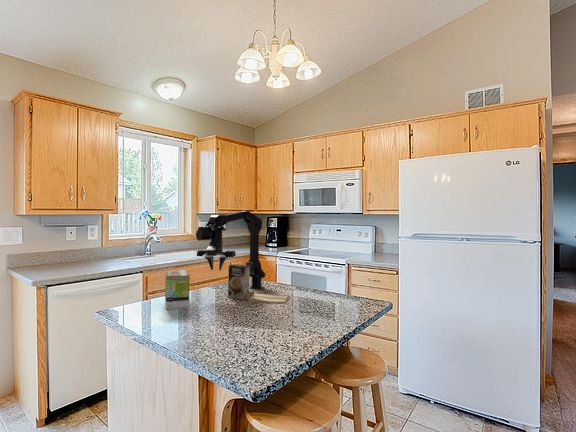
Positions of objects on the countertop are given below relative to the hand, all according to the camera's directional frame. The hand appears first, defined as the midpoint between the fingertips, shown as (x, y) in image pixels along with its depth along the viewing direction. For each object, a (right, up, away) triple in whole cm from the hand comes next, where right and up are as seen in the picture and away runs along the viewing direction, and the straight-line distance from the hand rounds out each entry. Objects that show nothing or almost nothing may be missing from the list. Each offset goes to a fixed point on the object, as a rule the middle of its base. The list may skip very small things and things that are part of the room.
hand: (216, 270), depth 167 cm
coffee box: (+12, -13, -2) cm, 18 cm away
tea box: (-14, -13, -16) cm, 25 cm away
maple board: (+27, -13, -5) cm, 30 cm away
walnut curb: (+17, -13, -2) cm, 22 cm away
